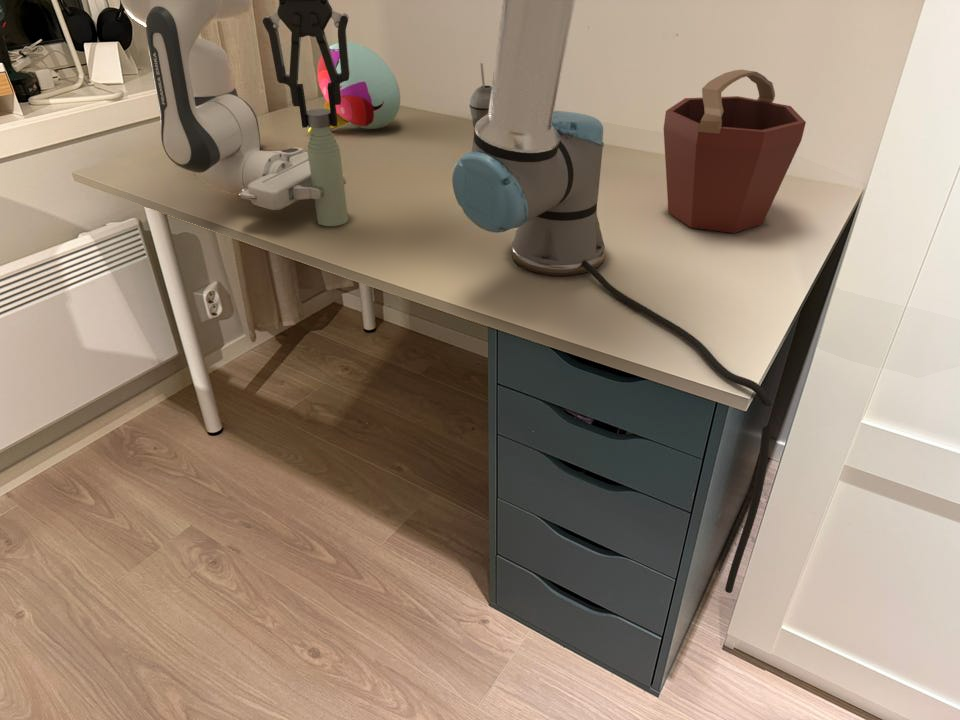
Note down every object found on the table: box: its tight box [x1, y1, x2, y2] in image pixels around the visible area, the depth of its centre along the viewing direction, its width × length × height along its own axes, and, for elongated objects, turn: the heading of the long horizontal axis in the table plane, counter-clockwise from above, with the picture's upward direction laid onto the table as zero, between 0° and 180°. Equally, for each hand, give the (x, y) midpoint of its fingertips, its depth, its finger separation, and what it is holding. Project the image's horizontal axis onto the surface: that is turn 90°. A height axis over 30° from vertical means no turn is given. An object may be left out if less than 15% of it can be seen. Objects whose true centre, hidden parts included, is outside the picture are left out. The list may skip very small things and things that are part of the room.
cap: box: [306, 108, 332, 128], centre depth 120 cm, size 4×4×2 cm
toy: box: [307, 41, 401, 134], centre depth 176 cm, size 24×24×20 cm
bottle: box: [306, 126, 349, 227], centre depth 126 cm, size 6×6×19 cm
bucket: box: [663, 69, 807, 234], centre depth 125 cm, size 24×22×25 cm
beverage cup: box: [468, 62, 492, 132], centre depth 154 cm, size 7×7×20 cm
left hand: (332, 187), depth 127 cm, fingers closed on bottle, 5 cm apart
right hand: (320, 124), depth 121 cm, fingers closed on cap, 4 cm apart
